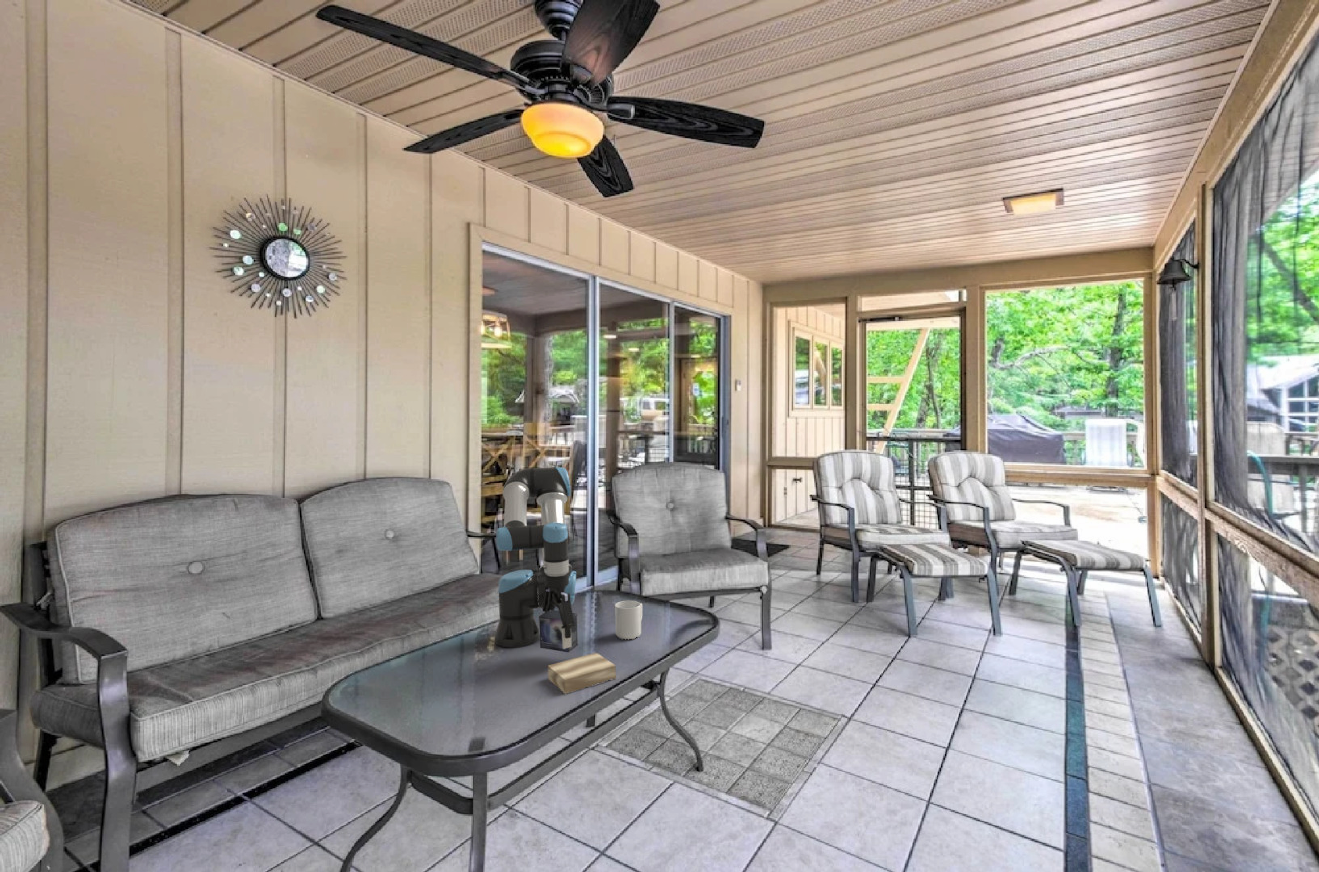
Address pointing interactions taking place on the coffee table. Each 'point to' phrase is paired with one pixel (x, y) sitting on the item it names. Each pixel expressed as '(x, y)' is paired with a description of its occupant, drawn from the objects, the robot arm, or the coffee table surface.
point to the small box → (555, 631)
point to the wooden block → (581, 672)
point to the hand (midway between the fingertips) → (558, 641)
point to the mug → (628, 619)
